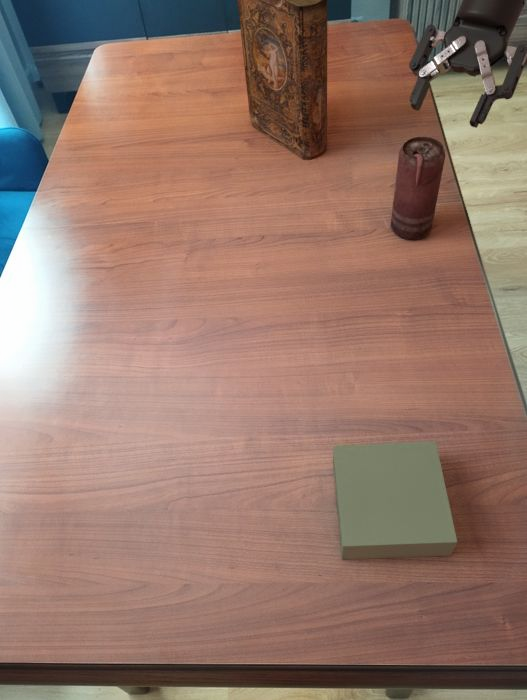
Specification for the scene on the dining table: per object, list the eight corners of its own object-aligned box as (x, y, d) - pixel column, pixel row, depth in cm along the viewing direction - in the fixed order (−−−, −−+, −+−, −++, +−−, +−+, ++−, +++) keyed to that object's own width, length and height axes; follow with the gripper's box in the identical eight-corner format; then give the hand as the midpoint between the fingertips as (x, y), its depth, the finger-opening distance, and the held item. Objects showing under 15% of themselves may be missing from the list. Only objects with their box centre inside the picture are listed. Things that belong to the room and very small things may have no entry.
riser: (430, 457, 66) (435, 440, 63) (450, 555, 59) (457, 542, 56) (333, 462, 67) (333, 445, 63) (341, 559, 60) (342, 546, 57)
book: (331, 149, 103) (333, -4, 84) (308, 162, 102) (304, 8, 82) (273, 114, 112) (262, -33, 92) (250, 125, 110) (234, -22, 90)
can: (390, 242, 88) (400, 162, 77) (390, 214, 92) (399, 134, 80) (432, 243, 87) (448, 162, 76) (430, 215, 91) (444, 134, 80)
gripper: (440, -33, 75) (388, 94, 79) (552, -14, 69) (489, 122, 73) (452, -4, 82) (403, 112, 85) (554, 16, 76) (497, 139, 80)
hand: (443, 116), depth 79 cm, fingers open, 8 cm apart
